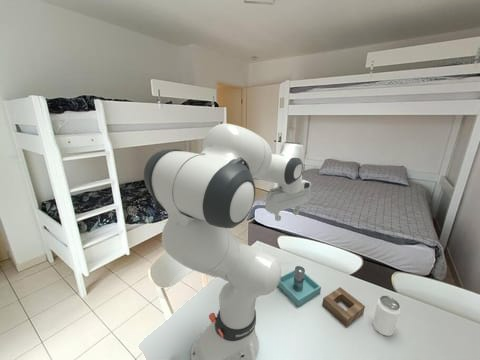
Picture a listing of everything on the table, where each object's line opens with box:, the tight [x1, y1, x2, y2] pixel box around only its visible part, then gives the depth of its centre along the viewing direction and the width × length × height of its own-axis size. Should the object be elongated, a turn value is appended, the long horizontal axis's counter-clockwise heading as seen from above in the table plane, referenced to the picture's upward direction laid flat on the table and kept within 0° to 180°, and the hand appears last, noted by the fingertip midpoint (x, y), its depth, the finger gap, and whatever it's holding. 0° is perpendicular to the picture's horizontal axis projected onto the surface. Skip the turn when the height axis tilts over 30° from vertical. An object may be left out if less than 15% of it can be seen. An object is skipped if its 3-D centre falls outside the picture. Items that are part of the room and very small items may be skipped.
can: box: [371, 295, 401, 337], centre depth 76 cm, size 6×6×12 cm
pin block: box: [321, 286, 366, 328], centre depth 84 cm, size 11×11×4 cm
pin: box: [293, 265, 306, 292], centre depth 92 cm, size 4×4×10 cm
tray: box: [276, 269, 322, 309], centre depth 93 cm, size 13×13×4 cm
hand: (287, 217), depth 85 cm, fingers open, 8 cm apart
